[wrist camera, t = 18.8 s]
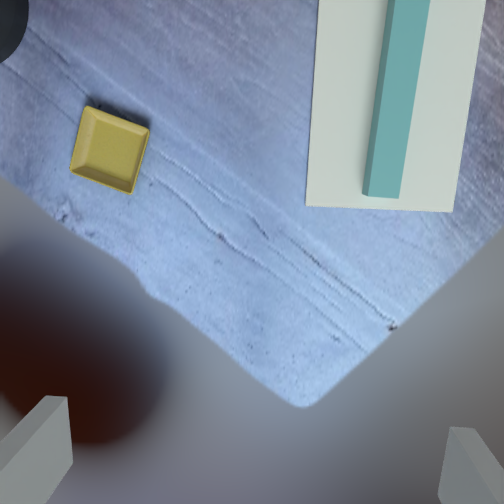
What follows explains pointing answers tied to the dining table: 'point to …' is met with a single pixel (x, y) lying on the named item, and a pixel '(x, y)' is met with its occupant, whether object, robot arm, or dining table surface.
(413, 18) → the bar
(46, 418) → the robot arm
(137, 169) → the yellow square tray
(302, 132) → the dining table surface
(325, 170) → the mat
